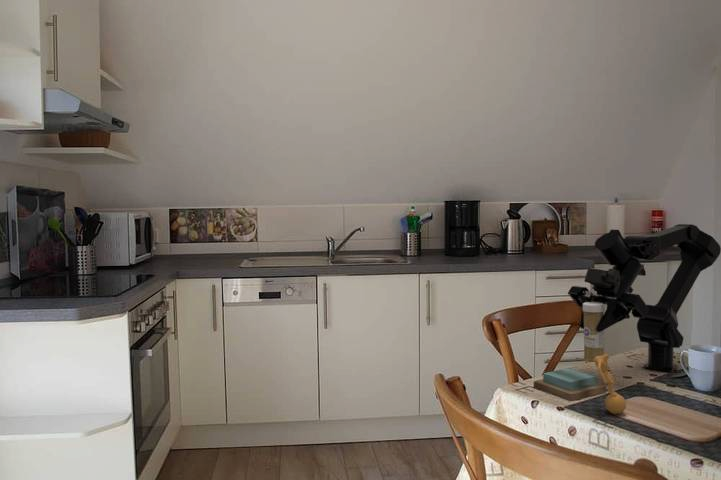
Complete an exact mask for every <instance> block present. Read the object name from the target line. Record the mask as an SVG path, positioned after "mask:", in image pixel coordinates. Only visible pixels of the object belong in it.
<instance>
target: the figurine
mask: <svg viewBox="0 0 721 480" xmlns="http://www.w3.org/2000/svg"><path fill="white" fill-rule="evenodd" d="M609 359H610V357H609V354H608V353H604V355H602V356H596V357H595V358H594V362H593V363H594V364H595V365H596V368H597V370H598V372H599V373H600V375H601V377H602V380H603V382H604V384H605V385H606V384H607V385H606V391H608V393H609V394H608V395H607V396H606V397H605V399H604V405H605V408H606V410H607V411H608V412H609V413H611V414H613V415H620V414H621V413H624V411H625V410H626V409H627V401H626V399H625V398H624V397H623V395H621V394H619V393H618V392H616V391H614V390H613V389H612V386H614V384H615V381H616V379H615V378H614V377H613V376H612V374H613V373H614V372H613V369H611V367H610V366H609V363H608V360H609ZM608 370H609V371H608Z"/></svg>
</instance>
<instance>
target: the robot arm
mask: <svg viewBox="0 0 721 480" xmlns="http://www.w3.org/2000/svg"><path fill="white" fill-rule="evenodd" d="M674 246H676V247H677V248H678V250H679V255H680V260H681V262H680V264H679V265H678V267H677V269H676V271H675V273H674V274H673V276H672V278H671V279H670V281H669V283H668V285H667V286H666V288H665V290H664V291H663V293H662V295H661V297H660V298H659V300H658V301H657V303H656V304H655V305H653V304H646V302H645V301H644V299H643V298H642V296H641V295H640V294H638V293H633V291H634V289H633V287H632V285H633V283H634V282H635V280H636V279H637V277H638V276H646V275H647V273H646V270H645V265H644V264H642V263H641V262H640V260H642V261H653V260H654V259H655V258H657V257H659V256H660V255H661V253H662V251H663V250H665V249H667V248H671V247H674ZM594 247H595V249H596V250H597V251H598V253H599V255H601V257H602V258H603V260H604V262H606V263H607V265H610V266H612V267H611V268H609V269H608V270H604V269H601V268H600V269H598V268H597V269H596V268H587V270H586V273H585V276H584V280H583V281H584V282H585V283H588V284H590V285H591V286H592V287H591V288H592V290H594V291H593V292H596V293H593V292H591V291H590V289H589V288H588V287H585V286H580V285H573V286H571V287H570V289H569V290H568V292H567V295H568V296H569V297H570V298H571V300H572V301H573V302H574V303H575V304H576V306H577V307H579V308H581V309H582V310H581V317H580V322H579V327H580V329H581V330H584V313H583V303H585V302H599V303H603V304H604V306H606V310H604V313H603V317H602V318H601V320H600V322H599V324H598V326H597V328H596V331H597V332H601V331H603V330H607V329H608V328H609V327H610V328H611V327H612V326H613V325H615V324H618V323H620V322H621V321H624V320H626V319H628V320H629V319H630V318H631V316H630V313H631V315H632V316H633V318H638V320H637V322H636V330H637V333H638V338H639V342H640V343H647V346H648V347H647V348H648V349H647V363H646V364H644V365H643V368H644V369H648V370H655V371H660V372H665V373H666V372H667V373H672V372H673V371H674V370H676V369H677V368H678V364H674V348H676V349H679V348H680V347H682V346H683V342H684V336H683V335H682V333H681V332H680V331H679V329H678V327H679V322H678V316H677V314H678V312H679V311H680V308H681V307H682V305H683V304H684V302H685V300H686V299H687V296H688V295H689V293H690V291H691V289H692V288H693V286H694V284H695V282H696V281H697V279H698V278H699V275H700V273H701V272H702V271H704V270H706V269H708V268H709V267H711V266H712V265H713V264H714V263H715V262H716V261H717V260H718V258H719V256H720V254H721V245H720V244H719V242H717V240H716V239H715V238H714V237H713V236H712V235H710V234H708V233H706V232H704V231H703V230H700V228H699V226H697V225H694V224H693V223H691V224H688V223H684V224H683V223H682V224H681V223H679V224H676V225H673V226H672V227H668V228H665V229H663V230H660V231H657V232H654V233H651V234H643V235H642V234H638V235H637V234H636V235H626V236H625V237H623V236H622V232H621V231H620V230H619V229H610V230H609V232H605V233H604V234H602V235H600V236H599V237H598V238H597V239H596V240H595V242H594Z"/></svg>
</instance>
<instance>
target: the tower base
mask: <svg viewBox="0 0 721 480" xmlns="http://www.w3.org/2000/svg"><path fill="white" fill-rule="evenodd" d="M542 376H543V378H542V379H538V380H534V381H533V388H534V389H536V388H537V389H536V390H538V391H539V390H540V391H542V392H543V393H544V392H546V393H547V394H550V395H553V396H556V397H559V398H561V399H564V400H566V401H570V402H574V401H578V400H581V399H586V398H589V397H593V396H597V395H601V394H605V393H607V385H606V384H605V385H604V384H601V383H600V382H599V383H598V382H597V376H596V375H592V374H589V373H585V372H583V371H579V370H576V369H572V368H562V369H557V370H552V371H548V372H544V373H543V375H542Z"/></svg>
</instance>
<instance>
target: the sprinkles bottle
mask: <svg viewBox="0 0 721 480" xmlns="http://www.w3.org/2000/svg"><path fill="white" fill-rule="evenodd" d="M604 306H605V305H604V304H603V303H599V302H585V303H583V313H584V329H583V348H584V351H583V360H584V361H586V362H590V363H595V362H594V358H595V357H596V356H602V355H604V354H605V353H604V348H605V337H604V335H605V331H604V330H603V331H601V332H597V331H596V328H597V326H598V324H599V322H600V320H601V318H602V317H603V315H604V313H605V307H604Z"/></svg>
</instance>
